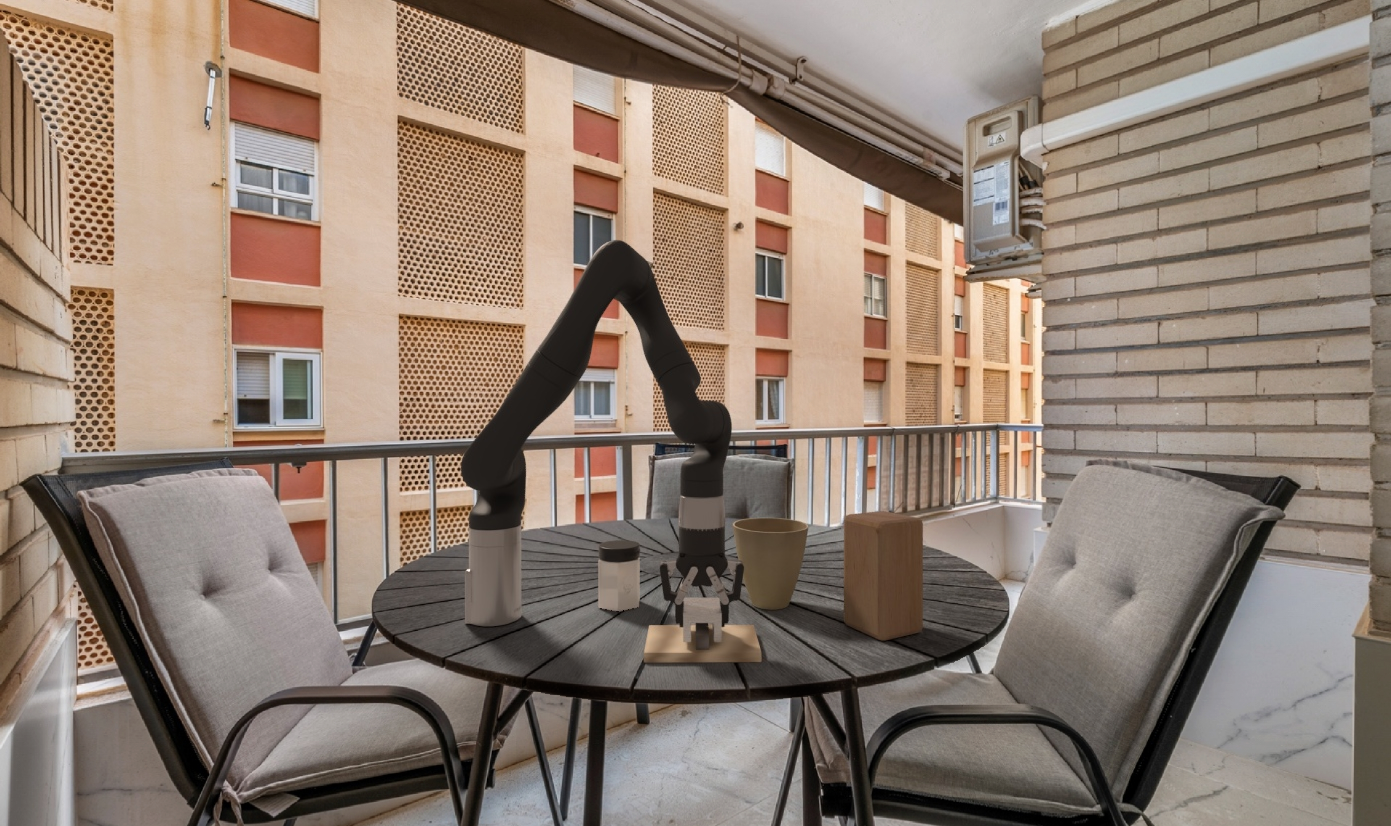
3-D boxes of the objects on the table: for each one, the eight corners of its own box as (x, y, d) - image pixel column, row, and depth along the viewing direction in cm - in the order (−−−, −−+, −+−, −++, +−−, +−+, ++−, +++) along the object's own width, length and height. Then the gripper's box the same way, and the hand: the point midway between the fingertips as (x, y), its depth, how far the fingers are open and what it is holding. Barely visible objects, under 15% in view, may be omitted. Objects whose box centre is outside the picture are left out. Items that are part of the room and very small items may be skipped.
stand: (643, 662, 94) (643, 636, 94) (649, 633, 106) (649, 610, 106) (761, 662, 94) (761, 636, 94) (753, 633, 106) (753, 610, 106)
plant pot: (717, 604, 122) (717, 524, 122) (762, 588, 133) (762, 515, 133) (779, 622, 112) (779, 535, 112) (822, 603, 123) (822, 523, 123)
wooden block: (882, 643, 102) (882, 523, 102) (841, 624, 111) (841, 513, 110) (925, 633, 106) (925, 518, 106) (882, 616, 115) (883, 509, 115)
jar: (607, 614, 116) (607, 551, 116) (590, 603, 123) (590, 543, 123) (649, 606, 121) (649, 545, 121) (630, 595, 128) (630, 538, 128)
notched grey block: (683, 642, 96) (683, 613, 96) (683, 624, 104) (683, 597, 104) (721, 641, 96) (721, 613, 96) (719, 624, 104) (719, 597, 104)
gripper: (743, 518, 104) (743, 617, 104) (658, 518, 104) (658, 618, 104) (748, 527, 96) (748, 634, 97) (656, 527, 96) (656, 634, 96)
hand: (701, 625), depth 100 cm, fingers closed on notched grey block, 6 cm apart
